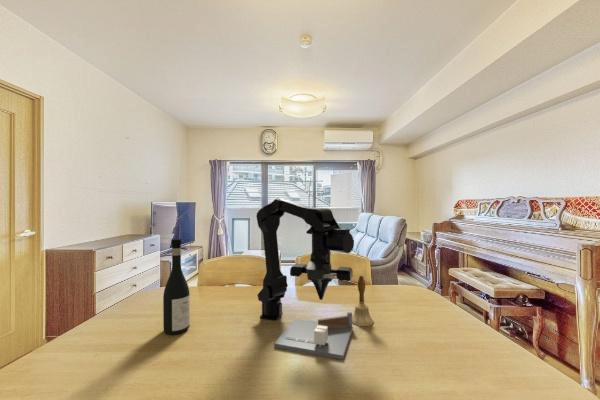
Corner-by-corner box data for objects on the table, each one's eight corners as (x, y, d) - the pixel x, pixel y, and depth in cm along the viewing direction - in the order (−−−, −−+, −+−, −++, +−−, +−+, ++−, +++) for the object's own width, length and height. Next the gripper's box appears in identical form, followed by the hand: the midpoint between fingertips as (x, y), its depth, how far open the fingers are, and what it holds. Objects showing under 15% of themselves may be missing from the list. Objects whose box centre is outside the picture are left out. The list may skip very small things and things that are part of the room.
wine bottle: (195, 327, 95) (194, 238, 95) (175, 337, 88) (175, 241, 88) (177, 322, 99) (177, 236, 99) (157, 332, 92) (157, 239, 91)
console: (274, 347, 82) (274, 328, 82) (296, 320, 100) (295, 305, 100) (342, 359, 76) (342, 339, 76) (353, 329, 94) (353, 312, 94)
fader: (314, 345, 80) (314, 330, 80) (317, 338, 84) (317, 324, 84) (324, 347, 79) (324, 332, 79) (327, 340, 83) (327, 326, 83)
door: (317, 328, 92) (317, 317, 92) (345, 324, 94) (345, 314, 94) (319, 331, 90) (319, 320, 90) (348, 327, 92) (348, 316, 92)
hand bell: (374, 327, 95) (374, 279, 95) (349, 325, 97) (349, 278, 96) (373, 317, 103) (373, 273, 103) (350, 315, 105) (350, 272, 105)
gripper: (283, 252, 83) (283, 305, 83) (346, 255, 77) (347, 313, 77) (296, 246, 94) (296, 293, 94) (352, 248, 88) (353, 299, 88)
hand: (321, 299), depth 88 cm, fingers closed
